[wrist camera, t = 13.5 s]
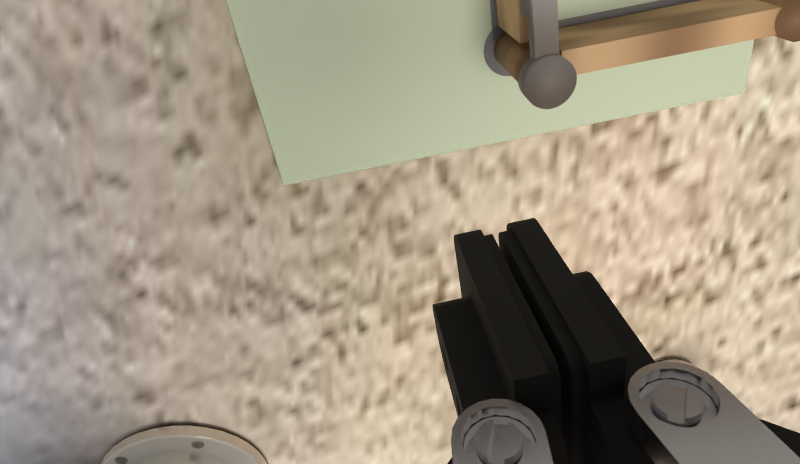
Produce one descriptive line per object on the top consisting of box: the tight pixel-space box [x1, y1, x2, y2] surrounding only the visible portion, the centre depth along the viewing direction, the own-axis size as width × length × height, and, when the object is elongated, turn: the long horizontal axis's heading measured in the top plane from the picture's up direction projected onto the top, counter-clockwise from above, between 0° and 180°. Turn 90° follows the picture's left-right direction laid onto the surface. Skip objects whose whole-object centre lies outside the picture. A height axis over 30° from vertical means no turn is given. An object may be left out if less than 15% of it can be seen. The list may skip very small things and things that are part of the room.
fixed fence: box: [494, 0, 800, 82], centre depth 26 cm, size 14×2×4 cm, turn 99°
